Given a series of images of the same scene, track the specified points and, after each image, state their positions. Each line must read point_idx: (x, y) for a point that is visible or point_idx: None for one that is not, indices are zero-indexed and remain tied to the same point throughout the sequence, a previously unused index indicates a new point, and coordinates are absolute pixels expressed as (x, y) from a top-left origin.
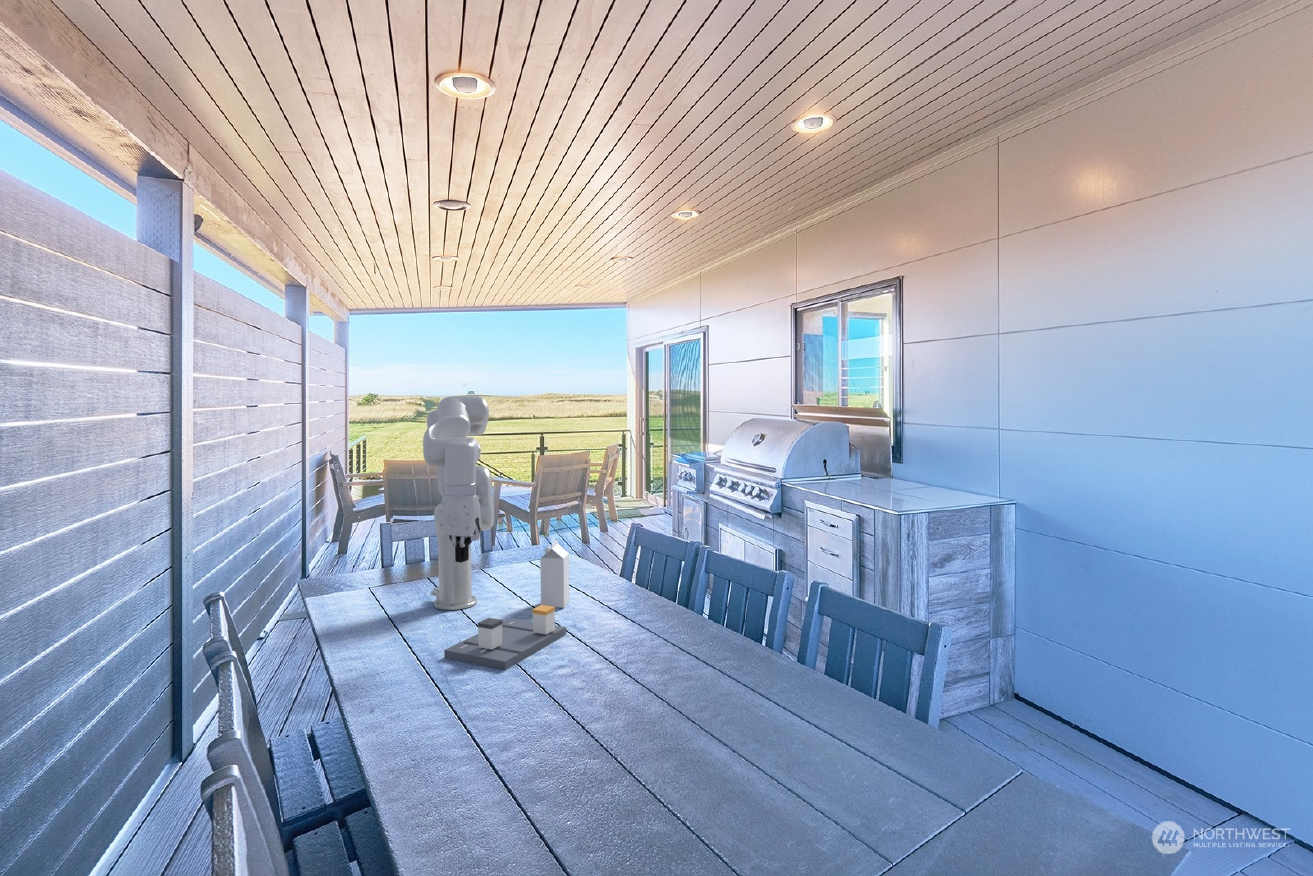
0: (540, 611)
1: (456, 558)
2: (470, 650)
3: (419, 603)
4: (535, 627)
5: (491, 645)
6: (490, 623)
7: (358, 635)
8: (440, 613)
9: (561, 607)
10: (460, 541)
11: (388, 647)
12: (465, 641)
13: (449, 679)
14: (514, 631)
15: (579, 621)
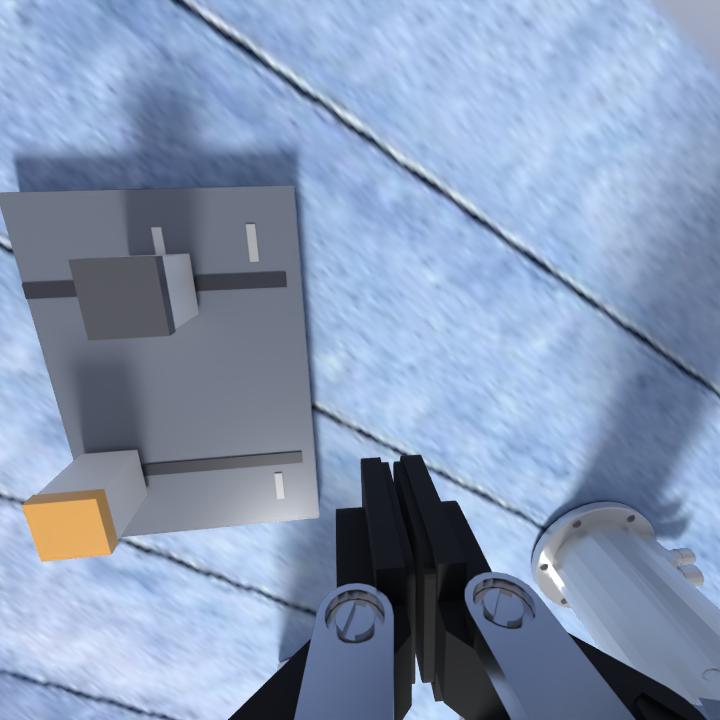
0: (53, 500)
1: (410, 470)
2: (204, 226)
3: (694, 511)
4: (116, 460)
5: (121, 256)
6: (93, 276)
7: (705, 221)
8: (583, 480)
9: (284, 661)
10: (387, 673)
11: (540, 181)
12: (286, 286)
13: (122, 29)
14: (213, 436)
15: (159, 612)
